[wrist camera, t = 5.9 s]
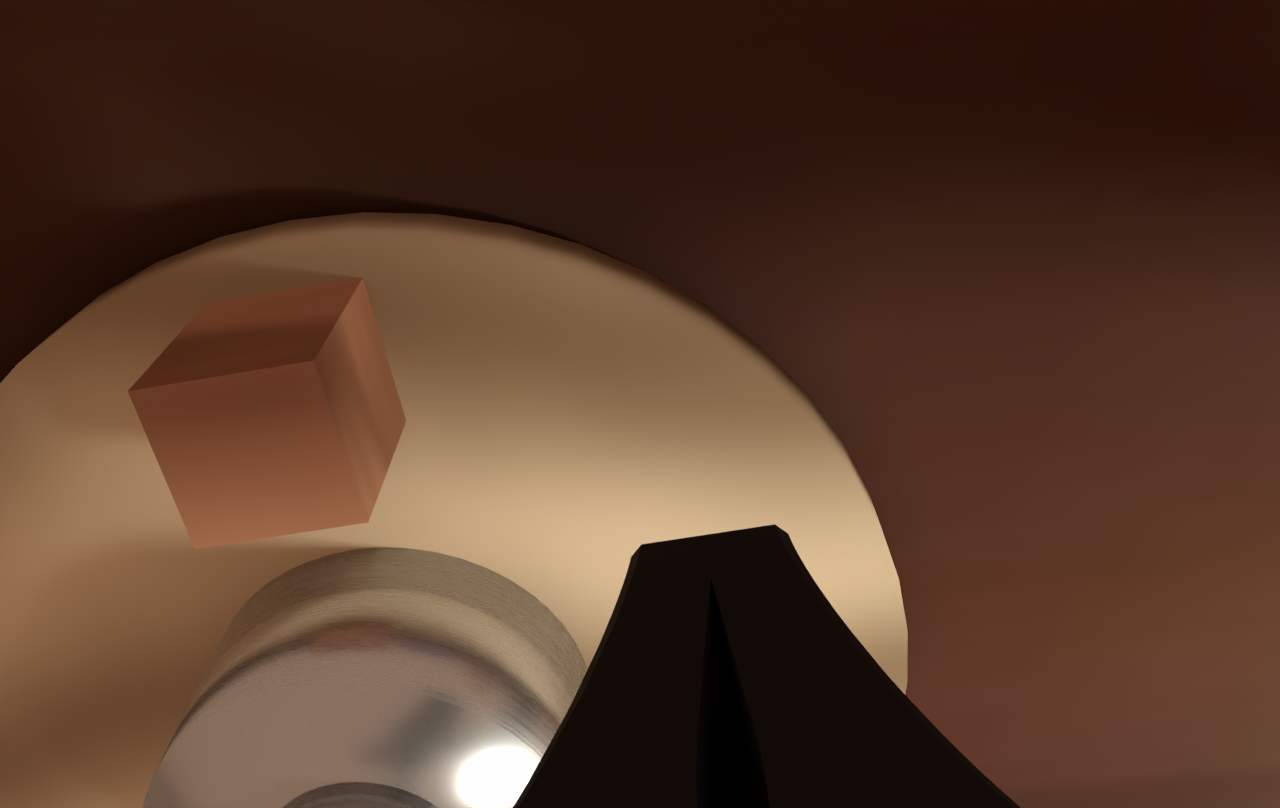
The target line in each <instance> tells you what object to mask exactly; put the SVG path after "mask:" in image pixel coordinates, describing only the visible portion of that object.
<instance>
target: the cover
mask: <svg viewBox="0 0 1280 808" xmlns="http://www.w3.org/2000/svg"><path fill="white" fill-rule="evenodd" d="M587 670H588V669H587V666H586V663H585V660H584V658H583V656H582V654H581V652H580V650H579V648H578V646H577V644H576V642H575V641H574V639H573V638H572V636H571V635H570V634H569V632H568V631H567V629H566V628H565V626H564V625H563V624H562V623H561V622H560V620H559V619H558V618H557V617H556V616H555V615H554V614H553V613H552V612H551V611H550V610H549V608H548V607H546V606H545V605H544V604H543V603H542V602H540V601H539V600H538V599H537V598H536V597H534V596H533V595H532V594H531V593H530V592H528V591H527V590H525V589H524V588H522V587H520V586H519V585H517V584H516V583H514V582H513V581H511V580H510V579H508V578H506V577H504V576H502V575H500V574H498V573H496V572H494V571H492V570H490V569H488V568H486V567H483V566H480V565H478V564H475V563H472V562H470V561H467V560H464V559H461V558H458V557H453V556H449V555H445V554H441V553H437V552H432V551H425V550H417V549H410V548H383V547H381V548H369V549H356V550H351V551H346V552H340V553H335V554H330V555H327V556H324V557H321V558H318V559H315V560H312V561H308V562H306V563H303V564H301V565H299V566H297V567H295V568H293V569H291V570H289V571H286V572H284V573H283V574H281V575H280V576H278V577H277V578H275V579H274V580H272V581H270V582H269V583H267V584H266V585H264V586H263V587H262V588H261V589H260V590H259V591H258V592H256V593H255V594H254V595H253V596H252V597H251V598H250V599H249V600H248V601H247V602H246V603H245V604H244V606H243V607H242V608H241V609H240V610H239V612H238V613H237V614H236V615H235V617H234V618H233V620H232V622H231V623H230V625H229V627H228V629H227V630H226V632H225V634H224V636H223V638H222V640H221V642H220V644H219V646H218V648H217V650H216V652H215V654H214V656H213V658H212V660H211V662H210V664H209V666H208V668H207V670H206V672H205V674H204V676H203V678H202V680H201V682H200V684H199V686H198V688H197V690H196V692H195V694H194V696H193V698H192V700H191V702H190V704H189V706H188V708H187V710H186V712H185V714H184V716H183V718H182V720H181V722H180V724H179V726H178V728H177V730H176V732H175V734H174V736H173V738H172V740H171V742H170V744H169V746H168V748H167V750H166V752H165V754H164V756H163V758H162V760H161V762H160V764H159V766H158V768H157V770H156V772H155V774H154V776H153V778H152V780H151V782H150V785H149V788H148V791H147V793H146V796H145V799H144V804H143V808H513V806H514V805H515V803H516V801H517V800H518V798H519V797H520V795H521V793H522V792H523V790H524V788H525V787H526V785H527V783H528V782H529V780H530V778H531V776H532V775H533V773H534V771H535V769H536V767H537V766H538V764H539V762H540V760H541V758H542V757H543V755H544V753H545V751H546V749H547V748H548V746H549V744H550V742H551V740H552V739H553V737H554V735H555V733H556V731H557V730H558V728H559V726H560V724H561V722H562V721H563V719H564V717H565V715H566V713H567V711H568V709H569V707H570V705H571V703H572V701H573V699H574V697H575V695H576V693H577V691H578V689H579V687H580V684H581V682H582V680H583V678H584V676H585V674H586V672H587Z"/></svg>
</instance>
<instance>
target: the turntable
mask: <svg viewBox="0 0 1280 808" xmlns="http://www.w3.org/2000/svg"><path fill="white" fill-rule="evenodd" d="M774 524H775V525H777V526H778V527H779V528H781V529H782V530H784V531H785V532H787V533H788V534H789V536H790V539H791V541H792V543H793V545H794V547H795V549H796V551H797V553H798V555H799V556H800V558H801V560H802V562H803V563H804V565H805V567H806V568H807V570H808V571H809V573H810V575H811V576H812V578H813V579H814V581H815V582H816V584H817V585H818V587H819V588H820V590H821V591H822V592H823V594H824V595H825V597H826V598H827V599H828V601H829V602H830V604H831V605H832V607H833V608H834V609H835V611H836V612H837V613H838V615H839V616H840V617H841V619H842V620H843V621H844V623H845V624H846V625H847V627H848V628H849V629H850V630H851V632H852V633H853V634H854V635H855V636H856V638H857V639H858V640H859V641H860V642H861V644H862V645H863V646H864V647H865V649H866V650H867V651H868V652H869V653H870V655H871V656H872V657H873V658H874V659H875V661H876V662H877V663H878V664H879V666H880V667H881V668H882V669H883V670H884V672H885V673H886V674H887V675H888V676H889V677H890V678H891V680H892V681H893V682H894V683H895V684H896V685H897V686H898V687H899V689H900V690H901V691H902V692H903V693H904V694H905V693H906V687H907V640H908V631H907V625H906V619H905V613H904V607H903V601H902V595H901V589H900V583H899V578H898V575H897V572H896V569H895V566H894V564H893V561H892V558H891V555H890V552H889V549H888V546H887V543H886V540H885V537H884V534H883V531H882V528H881V526H880V523H879V520H878V517H877V515H876V512H875V509H874V506H873V504H872V501H871V498H870V495H869V493H868V490H867V488H866V486H865V484H864V483H863V481H862V479H861V477H860V475H859V473H858V471H857V469H856V467H855V466H854V464H853V462H852V460H851V458H850V456H849V454H848V452H847V450H846V448H845V447H844V445H843V443H842V441H841V439H840V438H839V437H838V435H837V434H836V433H835V431H834V430H833V429H832V427H831V426H830V425H829V423H828V422H827V421H826V419H825V418H824V416H823V415H822V414H821V412H820V411H819V410H818V408H817V407H816V406H815V404H814V403H813V402H812V400H811V399H810V398H809V396H808V395H807V393H806V392H805V391H804V390H803V389H802V388H801V387H800V386H799V385H798V384H797V383H796V382H795V381H794V380H793V379H792V378H791V377H790V376H789V375H788V374H787V373H786V372H785V371H784V370H783V369H782V368H781V367H780V366H779V365H778V364H777V363H776V362H775V361H774V360H773V359H772V358H771V357H770V356H769V355H768V354H767V353H766V352H765V351H764V350H763V349H762V348H761V347H760V346H759V345H757V344H756V343H755V342H753V341H752V340H751V339H750V338H748V337H747V336H746V335H744V334H743V333H742V332H740V331H739V330H738V329H736V328H735V327H734V326H733V325H731V324H730V323H729V322H727V321H726V320H725V319H723V318H722V317H721V316H719V315H718V314H717V313H716V312H714V311H713V310H712V309H710V308H709V307H708V306H706V305H704V304H702V303H701V302H699V301H697V300H695V299H694V298H692V297H690V296H688V295H687V294H685V293H683V292H681V291H680V290H678V289H676V288H675V287H673V286H671V285H669V284H668V283H666V282H664V281H662V280H661V279H659V278H657V277H655V276H654V275H652V274H650V273H648V272H646V271H644V270H641V269H639V268H637V267H634V266H632V265H629V264H627V263H625V262H622V261H620V260H617V259H615V258H613V257H610V256H608V255H605V254H603V253H601V252H598V251H596V250H593V249H591V248H589V247H586V246H584V245H581V244H578V243H574V242H570V241H567V240H563V239H560V238H556V237H552V236H549V235H545V234H542V233H538V232H534V231H531V230H527V229H524V228H520V227H516V226H513V225H508V224H501V223H494V222H488V221H481V220H474V219H467V218H460V217H454V216H447V215H440V214H414V213H368V212H361V213H352V214H342V215H333V216H324V217H314V218H305V219H295V220H288V221H284V222H280V223H276V224H272V225H267V226H263V227H259V228H255V229H251V230H247V231H243V232H239V233H234V234H230V235H226V236H222V237H219V238H216V239H214V240H211V241H209V242H206V243H204V244H201V245H199V246H196V247H194V248H191V249H189V250H186V251H184V252H181V253H179V254H176V255H173V256H171V257H168V258H166V259H163V260H161V261H158V262H156V263H154V264H153V265H151V266H149V267H147V268H146V269H144V270H142V271H141V272H139V273H137V274H135V275H134V276H132V277H130V278H128V279H127V280H125V281H123V282H121V283H120V284H118V285H116V286H115V287H113V288H111V289H109V290H108V291H106V292H104V293H102V294H101V295H99V296H98V297H97V298H96V299H94V300H93V301H92V302H91V303H89V304H88V305H87V306H86V307H84V308H83V309H82V310H81V311H80V312H78V313H77V314H76V315H75V316H73V317H72V318H71V319H70V320H68V321H67V322H66V323H65V324H63V325H62V326H61V327H60V328H59V329H57V330H56V331H55V332H54V333H52V334H51V335H50V336H49V337H48V338H47V339H45V340H44V341H43V342H42V343H41V344H40V345H39V346H37V347H36V348H35V349H34V350H33V351H32V352H31V353H29V354H28V355H27V356H26V357H25V358H24V359H23V360H21V361H20V362H19V363H18V364H17V365H16V366H15V367H14V368H13V369H12V371H11V372H10V373H9V374H8V375H7V376H6V377H5V378H4V380H3V381H2V382H1V383H0V808H143V804H144V799H145V796H146V793H147V791H148V788H149V785H150V782H151V780H152V778H153V776H154V774H155V772H156V770H157V768H158V766H159V764H160V762H161V760H162V758H163V756H164V754H165V752H166V750H167V748H168V746H169V744H170V742H171V740H172V738H173V736H174V734H175V732H176V730H177V728H178V726H179V724H180V722H181V720H182V718H183V716H184V714H185V712H186V710H187V708H188V706H189V704H190V702H191V700H192V698H193V696H194V694H195V692H196V690H197V688H198V686H199V684H200V682H201V680H202V678H203V676H204V674H205V672H206V670H207V668H208V666H209V664H210V662H211V660H212V658H213V656H214V654H215V652H216V650H217V648H218V646H219V644H220V642H221V640H222V638H223V636H224V634H225V632H226V630H227V629H228V627H229V625H230V623H231V622H232V620H233V618H234V617H235V615H236V614H237V613H238V612H239V610H240V609H241V608H242V607H243V606H244V604H245V603H246V602H247V601H248V600H249V599H250V598H251V597H252V596H253V595H254V594H255V593H256V592H258V591H259V590H260V589H261V588H262V587H263V586H264V585H266V584H267V583H269V582H270V581H272V580H274V579H275V578H277V577H278V576H280V575H281V574H283V573H284V572H286V571H289V570H291V569H293V568H295V567H297V566H299V565H301V564H303V563H306V562H308V561H312V560H315V559H318V558H321V557H324V556H327V555H330V554H335V553H340V552H346V551H351V550H356V549H369V548H381V547H383V548H410V549H417V550H425V551H432V552H437V553H441V554H445V555H449V556H453V557H458V558H461V559H464V560H467V561H470V562H472V563H475V564H478V565H480V566H483V567H486V568H488V569H490V570H492V571H494V572H496V573H498V574H500V575H502V576H504V577H506V578H508V579H510V580H511V581H513V582H514V583H516V584H517V585H519V586H520V587H522V588H524V589H525V590H527V591H528V592H530V593H531V594H532V595H533V596H534V597H536V598H537V599H538V600H539V601H540V602H542V603H543V604H544V605H545V606H546V607H548V608H549V610H550V611H551V612H552V613H553V614H554V615H555V616H556V617H557V618H558V619H559V620H560V622H561V623H562V624H563V625H564V626H565V628H566V629H567V631H568V632H569V634H570V635H571V636H572V638H573V639H574V641H575V642H576V644H577V646H578V648H579V650H580V652H581V654H582V656H583V658H584V660H585V663H586V666H587V669H588V667H589V665H590V663H591V661H592V659H593V657H594V655H595V653H596V650H597V648H598V646H599V644H600V642H601V639H602V637H603V634H604V632H605V630H606V627H607V625H608V622H609V620H610V618H611V615H612V613H613V610H614V607H615V605H616V602H617V600H618V597H619V594H620V591H621V589H622V586H623V583H624V580H625V577H626V574H627V570H628V567H629V563H630V559H631V556H632V555H633V554H634V553H635V552H636V550H637V549H638V548H639V547H640V546H641V544H647V543H654V542H661V541H667V540H674V539H681V538H687V537H694V536H701V535H707V534H714V533H721V532H727V531H734V530H740V529H747V528H754V527H760V526H767V525H774Z"/></svg>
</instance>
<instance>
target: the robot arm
mask: <svg viewBox="0 0 1280 808" xmlns="http://www.w3.org/2000/svg"><path fill="white" fill-rule="evenodd" d="M513 808H1020V807H1019V806H1018V805H1017V804H1016V803H1015V802H1014V801H1012V800H1011V799H1010V798H1009V797H1008V796H1007V795H1006V794H1005V793H1003V792H1002V791H1001V790H1000V789H999V788H998V787H997V786H996V785H995V784H993V783H992V782H991V781H990V780H989V779H988V778H987V777H986V776H985V775H984V774H983V773H981V772H980V771H979V770H978V769H977V768H976V767H975V766H974V765H973V764H972V763H971V762H970V761H969V760H968V759H967V758H966V757H965V756H964V755H963V754H962V753H961V752H960V751H959V750H958V749H957V748H956V747H955V746H954V745H953V744H952V743H951V742H950V741H949V740H948V739H947V738H945V737H944V736H943V734H942V733H941V732H940V731H939V730H938V729H937V728H936V727H935V726H934V725H933V724H932V723H931V722H930V721H929V720H928V719H927V718H926V717H925V716H924V715H923V713H922V712H921V711H920V710H919V709H918V708H917V707H916V706H915V705H914V704H913V703H912V702H911V701H910V700H909V699H908V698H907V696H906V695H905V694H904V693H903V692H902V691H901V690H900V689H899V687H898V686H897V685H896V684H895V683H894V682H893V681H892V680H891V678H890V677H889V676H888V675H887V674H886V673H885V672H884V670H883V669H882V668H881V667H880V666H879V664H878V663H877V662H876V661H875V659H874V658H873V657H872V656H871V655H870V653H869V652H868V651H867V650H866V649H865V647H864V646H863V645H862V644H861V642H860V641H859V640H858V639H857V638H856V636H855V635H854V634H853V633H852V632H851V630H850V629H849V628H848V627H847V625H846V624H845V623H844V621H843V620H842V619H841V617H840V616H839V615H838V613H837V612H836V611H835V609H834V608H833V607H832V605H831V604H830V602H829V601H828V599H827V598H826V597H825V595H824V594H823V592H822V591H821V590H820V588H819V587H818V585H817V584H816V582H815V581H814V579H813V578H812V576H811V575H810V573H809V571H808V570H807V568H806V567H805V565H804V563H803V562H802V560H801V558H800V556H799V555H798V553H797V551H796V549H795V547H794V545H793V543H792V541H791V539H790V536H789V534H788V533H787V532H785V531H784V530H782V529H781V528H779V527H778V526H777V525H775V524H774V525H767V526H760V527H754V528H747V529H740V530H734V531H727V532H721V533H714V534H707V535H701V536H694V537H687V538H681V539H674V540H667V541H661V542H654V543H647V544H641V546H640V547H639V548H638V549H637V550H636V552H635V553H634V554H633V555H632V556H631V559H630V563H629V567H628V570H627V574H626V577H625V580H624V583H623V586H622V589H621V591H620V594H619V597H618V600H617V602H616V605H615V607H614V610H613V613H612V615H611V618H610V620H609V622H608V625H607V627H606V630H605V632H604V634H603V637H602V639H601V642H600V644H599V646H598V648H597V650H596V653H595V655H594V657H593V659H592V661H591V663H590V665H589V667H588V670H587V672H586V674H585V676H584V678H583V680H582V682H581V684H580V687H579V689H578V691H577V693H576V695H575V697H574V699H573V701H572V703H571V705H570V707H569V709H568V711H567V713H566V715H565V717H564V719H563V721H562V722H561V724H560V726H559V728H558V730H557V731H556V733H555V735H554V737H553V739H552V740H551V742H550V744H549V746H548V748H547V749H546V751H545V753H544V755H543V757H542V758H541V760H540V762H539V764H538V766H537V767H536V769H535V771H534V773H533V775H532V776H531V778H530V780H529V782H528V783H527V785H526V787H525V788H524V790H523V792H522V793H521V795H520V797H519V798H518V800H517V801H516V803H515V805H514V806H513Z"/></svg>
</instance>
